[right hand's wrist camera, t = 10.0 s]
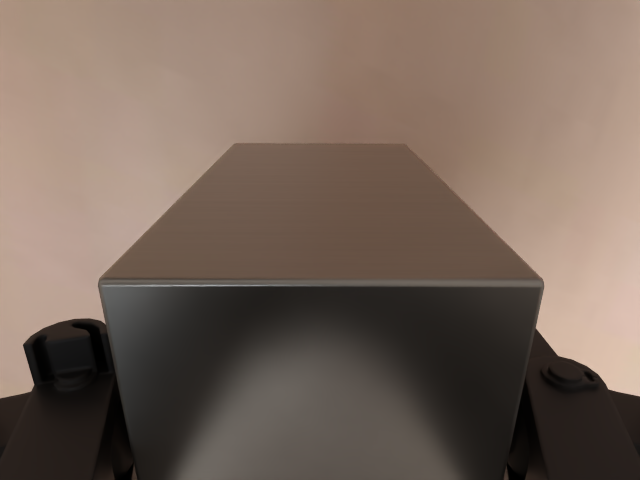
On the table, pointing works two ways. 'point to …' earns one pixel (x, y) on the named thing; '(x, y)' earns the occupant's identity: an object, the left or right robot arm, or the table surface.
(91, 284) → the table surface
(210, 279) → the bar
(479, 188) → the table surface
